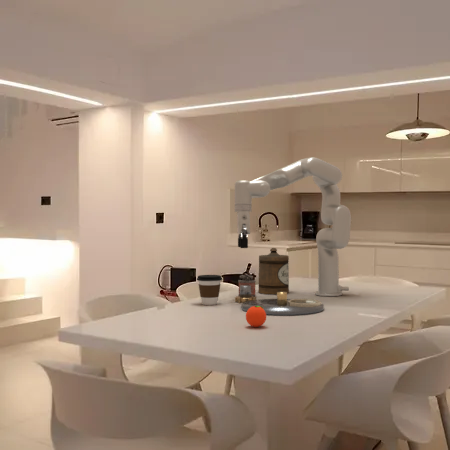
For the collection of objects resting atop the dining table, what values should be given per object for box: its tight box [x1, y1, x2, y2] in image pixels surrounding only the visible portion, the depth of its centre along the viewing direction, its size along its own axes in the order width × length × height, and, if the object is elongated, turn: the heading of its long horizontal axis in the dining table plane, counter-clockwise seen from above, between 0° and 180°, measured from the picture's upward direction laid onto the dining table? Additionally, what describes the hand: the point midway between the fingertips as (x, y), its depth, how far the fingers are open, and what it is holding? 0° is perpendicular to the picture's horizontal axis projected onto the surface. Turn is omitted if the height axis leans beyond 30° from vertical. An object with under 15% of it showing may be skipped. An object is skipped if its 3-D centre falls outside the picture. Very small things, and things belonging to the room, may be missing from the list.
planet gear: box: [234, 285, 257, 304], centre depth 238 cm, size 9×9×7 cm
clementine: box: [245, 306, 267, 328], centre depth 183 cm, size 8×7×7 cm
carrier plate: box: [240, 292, 325, 317], centre depth 219 cm, size 33×33×6 cm
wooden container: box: [258, 247, 290, 296], centre depth 268 cm, size 15×15×22 cm
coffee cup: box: [196, 274, 223, 306], centre depth 232 cm, size 11×11×12 cm
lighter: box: [237, 274, 257, 298], centre depth 254 cm, size 8×3×10 cm, turn 84°
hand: (242, 247), depth 240 cm, fingers open, 9 cm apart
